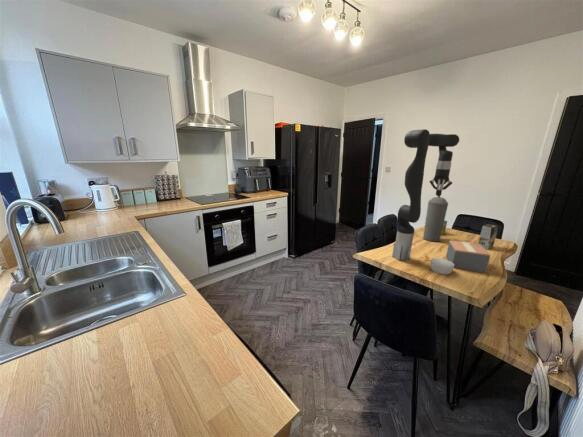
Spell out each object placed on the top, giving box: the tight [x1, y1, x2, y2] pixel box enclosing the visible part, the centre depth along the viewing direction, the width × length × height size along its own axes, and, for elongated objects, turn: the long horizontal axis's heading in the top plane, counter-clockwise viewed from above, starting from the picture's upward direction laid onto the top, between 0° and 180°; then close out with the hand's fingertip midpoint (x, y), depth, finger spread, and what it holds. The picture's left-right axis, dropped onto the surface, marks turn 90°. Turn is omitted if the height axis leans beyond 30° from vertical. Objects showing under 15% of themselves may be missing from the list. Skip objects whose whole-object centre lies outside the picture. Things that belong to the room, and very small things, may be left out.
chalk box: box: [441, 219, 448, 236], centre depth 192 cm, size 9×9×15 cm
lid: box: [448, 239, 491, 257], centre depth 138 cm, size 16×16×1 cm
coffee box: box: [477, 223, 499, 251], centre depth 164 cm, size 9×6×16 cm
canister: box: [422, 195, 449, 242], centre depth 175 cm, size 13×13×35 cm
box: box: [445, 242, 491, 274], centre depth 139 cm, size 16×16×10 cm
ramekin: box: [429, 257, 454, 275], centre depth 132 cm, size 11×11×5 cm
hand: (438, 195), depth 152 cm, fingers closed
